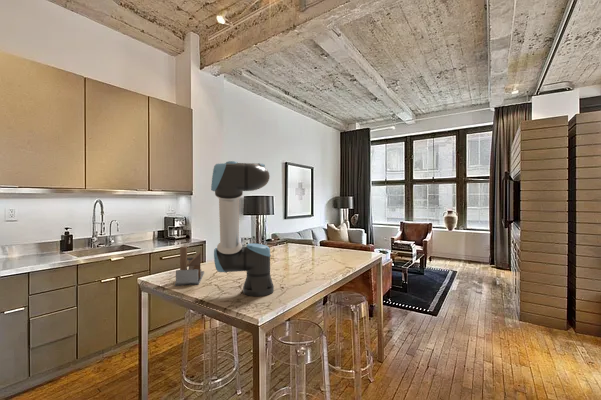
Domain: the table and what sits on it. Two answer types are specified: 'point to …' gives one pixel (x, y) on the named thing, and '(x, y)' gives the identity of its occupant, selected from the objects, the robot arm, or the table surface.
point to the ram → (189, 261)
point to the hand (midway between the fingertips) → (232, 227)
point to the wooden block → (194, 262)
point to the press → (188, 277)
